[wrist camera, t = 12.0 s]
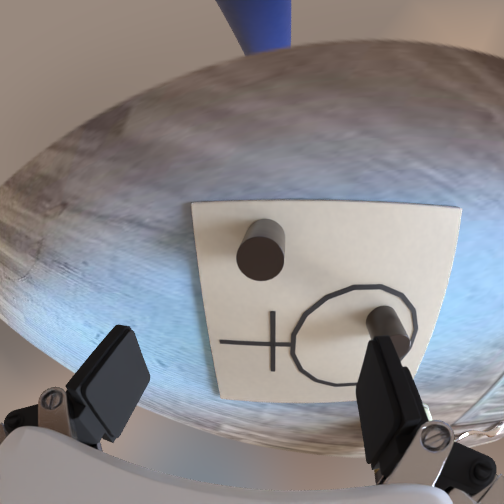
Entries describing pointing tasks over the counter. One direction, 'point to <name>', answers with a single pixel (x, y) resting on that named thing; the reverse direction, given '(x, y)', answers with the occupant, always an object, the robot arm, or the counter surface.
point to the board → (319, 291)
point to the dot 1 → (262, 250)
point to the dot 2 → (388, 328)
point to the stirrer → (488, 433)
